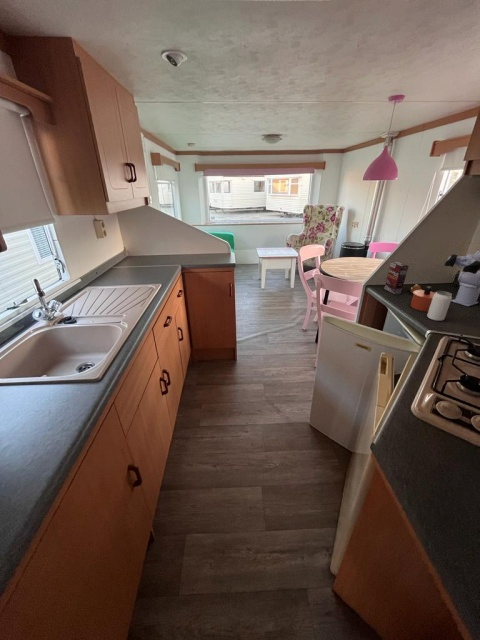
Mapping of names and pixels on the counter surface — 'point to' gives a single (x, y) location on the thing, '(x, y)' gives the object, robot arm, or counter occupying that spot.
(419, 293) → the lid
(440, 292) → the can
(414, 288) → the bun
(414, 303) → the pot
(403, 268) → the supplement box
